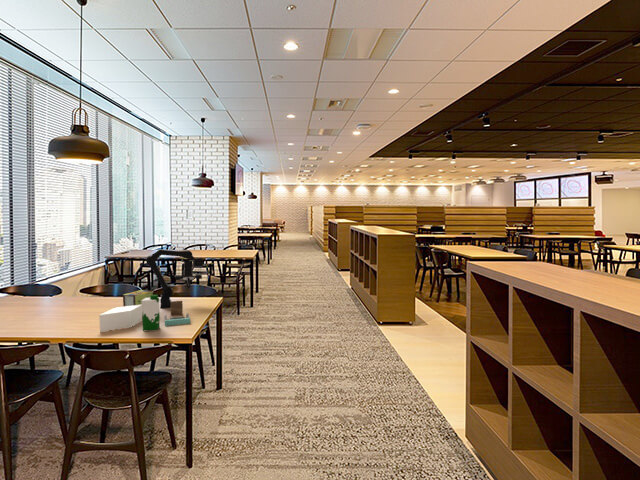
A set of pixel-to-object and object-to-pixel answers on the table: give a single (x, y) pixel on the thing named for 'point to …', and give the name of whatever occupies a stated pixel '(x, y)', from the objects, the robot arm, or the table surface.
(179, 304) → the wooden drawer
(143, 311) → the milk carton
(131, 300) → the protein box
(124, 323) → the white block
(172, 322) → the bay
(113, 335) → the table surface
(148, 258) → the robot arm
